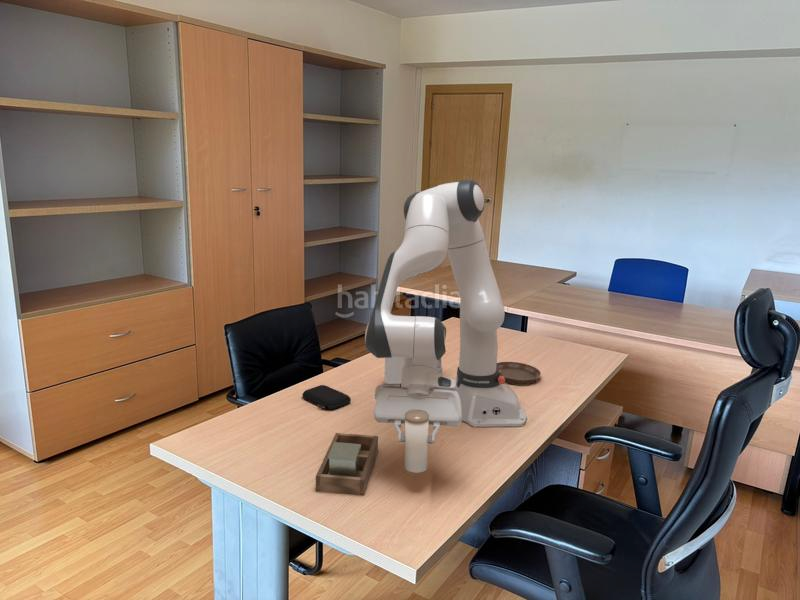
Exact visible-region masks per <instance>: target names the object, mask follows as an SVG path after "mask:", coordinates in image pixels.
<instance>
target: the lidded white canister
mask: <svg viewBox="0 0 800 600" xmlns="http://www.w3.org/2000/svg"><path fill="white" fill-rule="evenodd" d="M428 420H429V414H428V412H426V411H423V410H410V411H407V412H406V413H405V424H404V433H405V442H404V469H405V470H406V471H408V472H410V473H413V474H415V473H416V474H419V473H424V472H425V471H426V470H428V464H429V463H428V462H429V443H428V434H429V425H428Z"/></svg>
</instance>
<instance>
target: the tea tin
mask: <svg viewBox="0 0 800 600" xmlns="http://www.w3.org/2000/svg"><path fill="white" fill-rule="evenodd" d="M360 449H361V444H352V443H340V442H334V444H333V446H332V448H331V451H330V453H329V455H328V459H329V475H338V476H349V477H359V475H360Z"/></svg>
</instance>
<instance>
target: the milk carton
mask: <svg viewBox="0 0 800 600" xmlns="http://www.w3.org/2000/svg"><path fill="white" fill-rule="evenodd" d="M403 366H404V358H403V357H392V358H384V382H383V383H388V384H401V376H402V368H403ZM400 389H401V388H400Z"/></svg>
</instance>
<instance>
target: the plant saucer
mask: <svg viewBox="0 0 800 600" xmlns="http://www.w3.org/2000/svg"><path fill="white" fill-rule="evenodd" d="M496 369H497V370H498V371H499V370H500V371H501V373H502V374H503V377H504V378H505V383H504V384H510V385H517V386H519V385H520V386H523V385H530V384H532V383H534V382H536V380H538V379H539V378H540V377H541V371H540V369H538V368H537V367H535V366H533V365H531V364H527V363H522V362H514V361H500V362H497V365H496Z"/></svg>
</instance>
